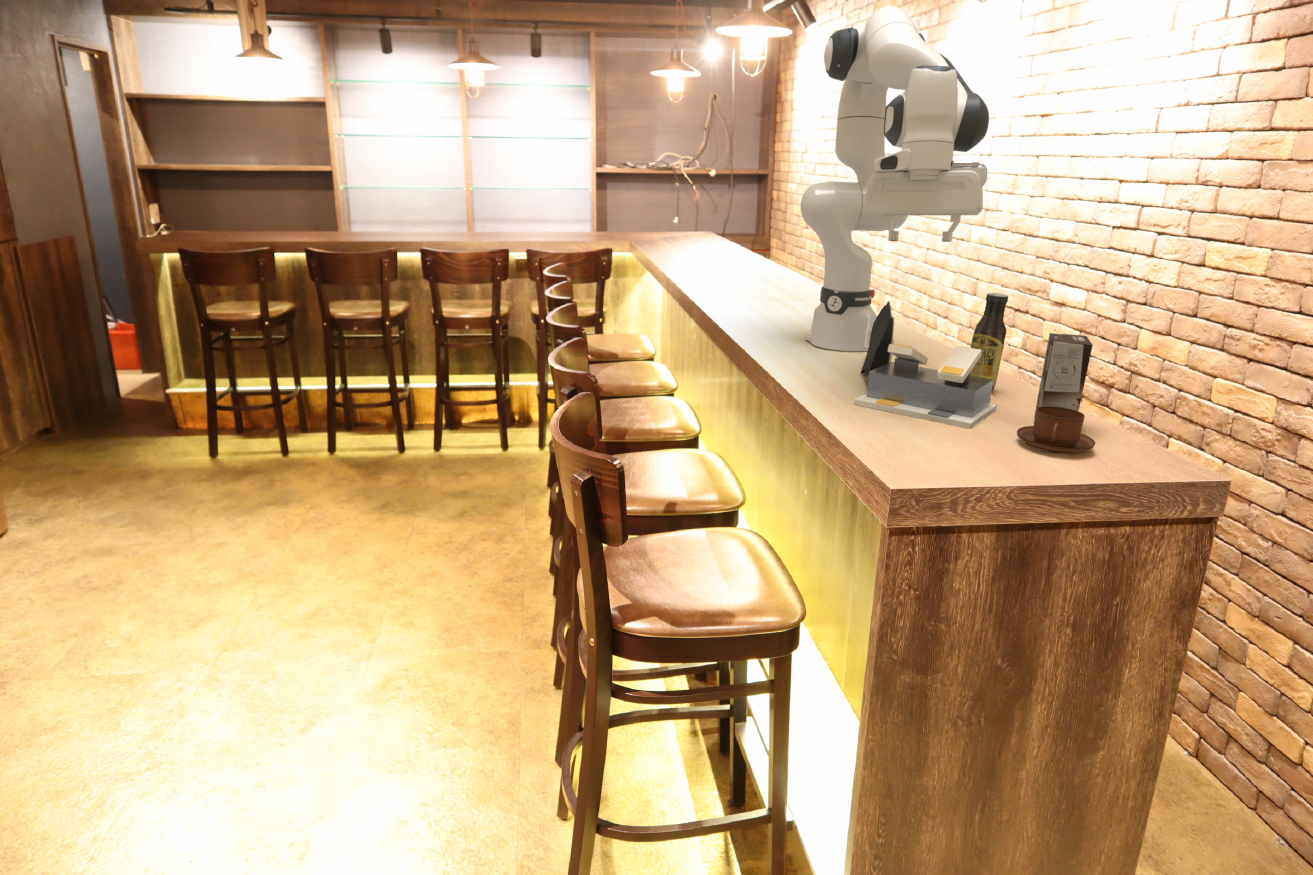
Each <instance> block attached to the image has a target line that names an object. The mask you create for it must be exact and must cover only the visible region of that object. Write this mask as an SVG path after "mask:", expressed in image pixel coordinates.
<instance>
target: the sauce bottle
mask: <svg viewBox="0 0 1313 875" xmlns="http://www.w3.org/2000/svg"><path fill="white" fill-rule="evenodd" d="M1008 300H1009V295H1008V294H1004V293H1000V292H999V293H998V292H987V293H986V298H985V307H984V312H983V315H982V316H981V318H980V320H979V321H978V322H977V324H976V325H975V329H974V331H973V335H972V339H971V343H970V348H974V349H980V350H982V351H981V357H980V359H979V360H978V362H977V363H976V364H975V366H974V367H973V369H972V374H971V376H974V377H980V378H986V379H991V380H993V386H992V392H993V391H994V389H995V386H996V385H997V380H998V376H999V371H1000V365H1001V361H1002V356H1003V352H1004V346H1005V340H1006V336H1007V328H1006V324H1005V322H1004V317H1005V311H1006V305H1007V303H1009V302H1008Z"/></svg>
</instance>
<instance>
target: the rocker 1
mask: <svg viewBox="0 0 1313 875" xmlns="http://www.w3.org/2000/svg"><path fill="white" fill-rule="evenodd" d="M888 352H889V353H891V354H892V356H894V357H895V358H903V359H909V360H915V361H919V365H925V366H927V363H928V360H929V358H928V356H926V355H924V354H923V353H921V352H920V351H918V350H917V349H915V348H914V347H912V346H910V345H909V346H908V345H902V344H896V343H893V344H889V347H888Z"/></svg>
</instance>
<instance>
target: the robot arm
mask: <svg viewBox="0 0 1313 875" xmlns="http://www.w3.org/2000/svg"><path fill="white" fill-rule="evenodd" d="M823 61H824V66H825V71H826V73H827V75H828V77H829V78H831V79H833V80H837V81H841V82H843V84H842V89H841V92H840V93H841V94H840V97H839V103H838V110H837V121H836V134H835V148H834V149H835V150H834V151H835V155H836V158H837V159H838V160H839V161H840V162H841V163H842V164H844V165H845V166H847V167H849V168H850V169H852V170H853V172H854V173H855V175H856V178H857V182H852V181H826V182H819V183H814V184H811V185H809V186H808V187H807V189H806V190H805V191H804V193H803V195H802V197H801V200H800V214H801V216H802V219H803V221H804V222H805V223H806V225H807V226H809V227H810V228H811V229H812V230H813V232H815V234H816V235H817V237H818V239H819V240H820V242H821V245H822V248H823V253H824V276H823V286H822V287H821V289H820V293H819V297H820V298H819V301H820V304H819V305H818V306H817V307H816V308H814V311H813V317H812V322H811V328H810V334H807V335H806V336H805V341H807V342H809V343H810V344H812V346H815V347H817V348H822V349H827V350H834V351H841V352H867V351H868V348H869V342H870V336H871V331H872V327H873V323H874V321H875V320H876V318H877V316H878V314H876V312H875V311H874V309H873V308H872V299H874V298H875V296H876V289H870V287H871V278H872V269H873V268H872V267H873V259H872V256H871V254H870V253H869V252H868V251H867V250H866V249H864V248H863V247H862V246H860V245H858V244H856V242H854V241H853V239H852V231H863V232H866V231H867V232H884V231H888V237H887V238H888V241H889V242H898V241H899V235H900V233H899V232H900V231H899V230H898V231H897V230H895V229H899V228H900V227H901V226H903V225H904V224H905V222H906V220H907V218H908V216H950V220H949V221H950V222H952V224H951V225H950V227H949V228H948V230H946V231H945V230H944V231H942V237H941V241H942V242H943V243H952V241H953V232H955V230H957V227H958V226H959V224H960V223H961V216H978V215H979V214H980V213H981V212H982V211H983V206H984V204H983V203H984V196H983V195H984V192H983V191H984V190H983V187H984V186H985V185H986V182H987V181H988V179H987V178H988V169H987V166H986V165H985V164H984V163H982V162H980V161H979V160H969V161H968V160H954V159H953V158H954V152H961V153H967V152H968V151H970V150H972V149H973V148H974V147H976V146H977V145H978V144H979V143H980V142H981V141H983V139H984V138H985V136H986V135H987V133H988V130H989V123H990V115H989V114H990V113H989V107H988V106H987V104H986V103H985V100H984V99H983V98H982V97H981V96H980V95H979V94H978V93H976V92H974V91H973V90H971V88H970V87H969V85H968V84H967V82H966V81H965V80H964V78H963V77H962V76H961V74H960V73H959V72H958V70H957V68H956V67H955V66H954V65H953V63H952V62H951V60H949V59H948V58H947V57H946V56H944V55H943V54H941V53H940V52H938V51H937V50H935V49H934V48H933V47H932V46H930V45H929V44H928V43H927V42H926V39H925V37H924V35H923V34H922V33H920V32H919V30H918V28H917V26H916V24H915V23H914V21H913V19H911V17H910V16H909V15H908V14H907V13H906V11H905V10H903V9H901V8H900V7H898V6H894V5H889V6H883V7H880V8H879V9H877V10H876V11H874V13H872V14H871V16H870V17H869V18H868V20H867V22H866V24H865V27H861V28H859V27H858V28H854V27H853V26H852V27H848V28H847V27H846V28H843V29H839V30H836V31H834V32H833V33H832V34H831V35H830V37H829V39H828V41H827V43H826V46H825V48H824V52H823ZM889 89H894V90H897V91H898V90H900V91H901V90H902V91H903V93H902V94H899V95H897V96H896V97H894V98H893V99H892V100H891V101H890V102H889V103H888V104H887V92H888V90H889ZM885 138H886V140H887V141H888V143H890V144H891V146H892V147H896V148H900V149H901V150H899V151H896V152H894V153H891V154H888V155H886V152H885V143H886V142H885Z"/></svg>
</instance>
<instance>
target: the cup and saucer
mask: <svg viewBox="0 0 1313 875" xmlns="http://www.w3.org/2000/svg"><path fill="white" fill-rule="evenodd" d="M1035 410H1036V414H1035V413H1034V416H1035V418H1034V421H1033V425H1029V426H1022V427H1019V428H1018V429H1017V431H1016V435H1017V437H1018V438H1019V440H1020V441H1021V442H1023V443H1024V444H1026V445H1028V446H1030V447H1032V448H1035V449H1038V450H1040V451H1044V452H1049V453H1055V454H1062V455H1063V454H1064V455H1065V454H1066V455H1069V454H1070V455H1075V454H1083V453H1085V452H1086V453H1087V452H1088V451H1091V450H1093V449H1094V447H1095V446H1096V441H1095V440H1094V439H1093V438H1092V437H1091V436H1089V435H1086V434H1084V433H1082V430H1083V426H1084V422H1085V416H1086V415H1085V414H1084V413H1083V412H1081V411H1080V410H1079V411H1076V410H1073V409H1069V408H1063V407H1056V406H1042V407H1038V408H1037V409H1036V408H1035Z"/></svg>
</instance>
